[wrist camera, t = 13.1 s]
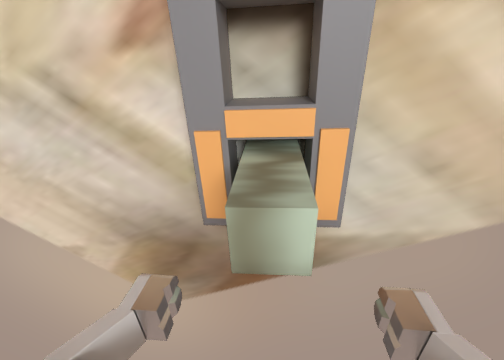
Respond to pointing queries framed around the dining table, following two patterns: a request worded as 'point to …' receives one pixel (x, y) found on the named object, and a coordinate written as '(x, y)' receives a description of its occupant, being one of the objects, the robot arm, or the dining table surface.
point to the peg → (271, 211)
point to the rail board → (272, 99)
